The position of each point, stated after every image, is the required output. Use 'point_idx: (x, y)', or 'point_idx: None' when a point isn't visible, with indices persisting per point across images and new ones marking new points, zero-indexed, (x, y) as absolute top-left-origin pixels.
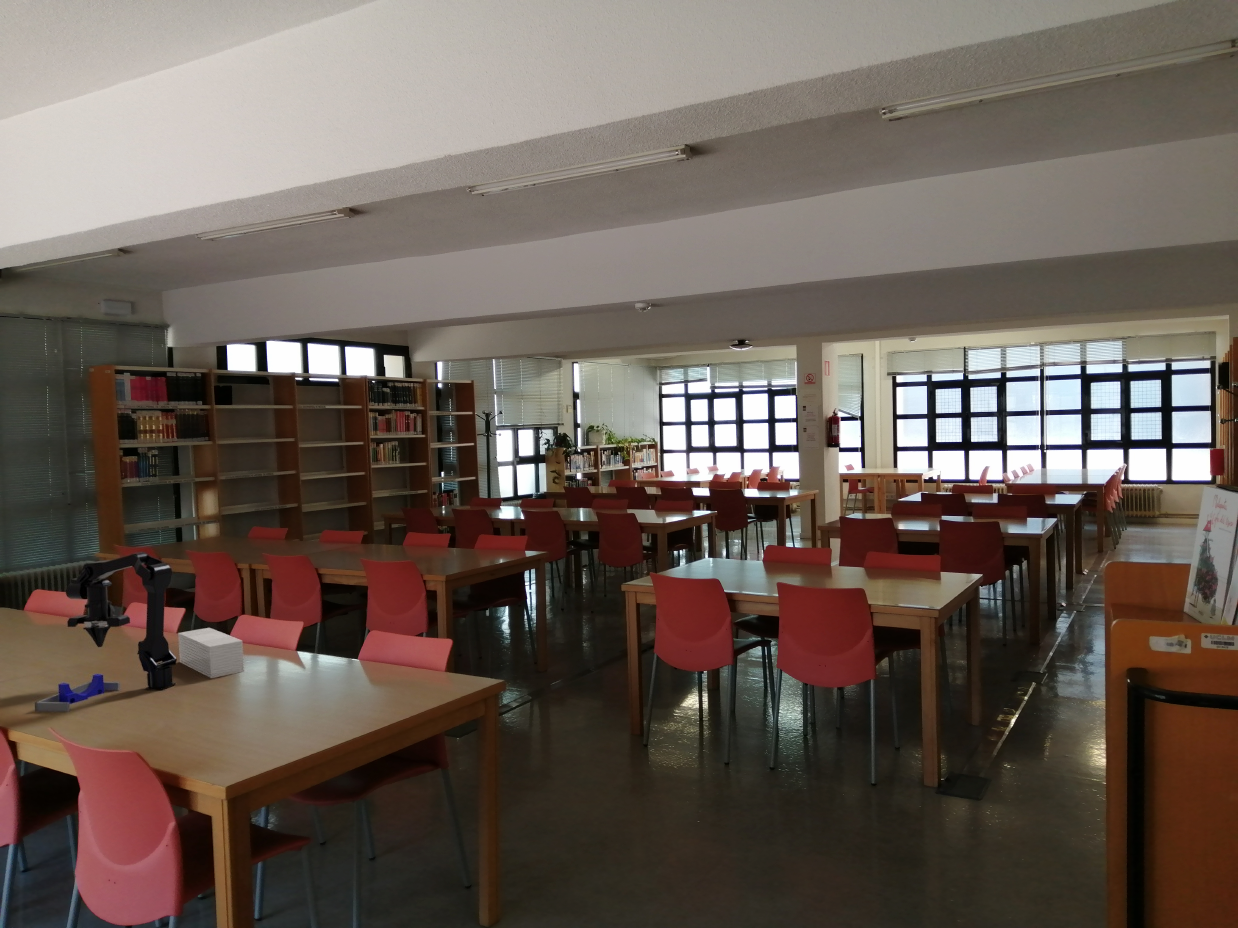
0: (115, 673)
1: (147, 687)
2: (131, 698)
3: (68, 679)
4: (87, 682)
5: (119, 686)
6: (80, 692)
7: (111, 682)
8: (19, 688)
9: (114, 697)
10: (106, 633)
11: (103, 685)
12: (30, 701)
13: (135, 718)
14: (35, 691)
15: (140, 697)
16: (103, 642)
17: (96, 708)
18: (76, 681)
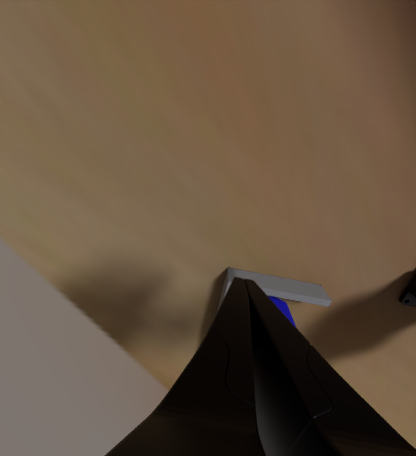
0: (210, 57)
1: (407, 298)
2: (374, 352)
3: (72, 135)
4: (227, 287)
5: (324, 292)
6: None
7: (306, 300)
8: (5, 222)
9: (329, 339)
10: (342, 384)
11: (292, 319)
12: (140, 329)
13: (408, 439)
14: (82, 258)
15: (395, 350)
16: (269, 300)
17: None
18: (124, 170)
